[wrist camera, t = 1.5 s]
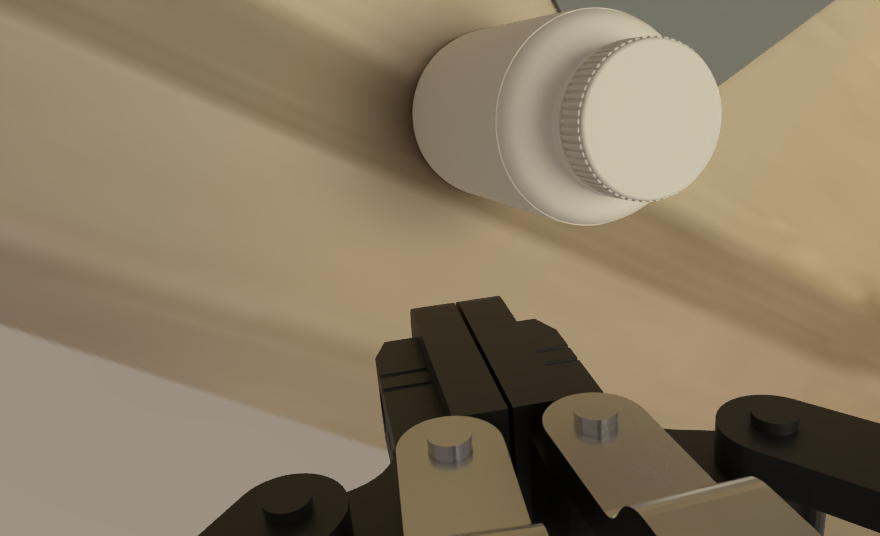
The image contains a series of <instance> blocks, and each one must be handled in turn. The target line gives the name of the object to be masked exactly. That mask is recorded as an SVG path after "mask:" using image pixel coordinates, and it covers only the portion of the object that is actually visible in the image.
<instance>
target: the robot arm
mask: <svg viewBox="0 0 880 536" xmlns="http://www.w3.org/2000/svg"><path fill="white" fill-rule="evenodd" d="M410 316H411V329H412V338H409V339H402V340H396V341H389V342H385V343H384V344H383V346H382V348H381V350H380V351H379V353H378V355H377V357H376V358H375V360H376V368H377V376H378V384H379V392H380V400H381V408H382V416H383V424H384V432H385V439H386V444H387V448H388V453H389V457H390V462H391V463H390V465H389V466H388V467H387V468H386V470H385V471H384V472H383V473H382V474H380V475H379V476H378V477H376V478H375V479H373V480H372V481H370V482H369V483H367V484H365V485H363V486H360V487H358V488H356V489H354V490H351V491H349V492H346V490H345V489H344V488H343V486H342V485H340V484H339V483H338V482H337V481H335V480H333V479H331V478H329V477H326V476H323V475H318V474H308V473H304V474H291V475H285V476H281V477H277V478H275V479H272V480H269V481H266V482H264V483H262V484H260V485H258V486H256V487H254V488H253V489H251V490H250V491H248V492H247V493H246V494H244V495H243V496H242V497H241V498H240V499H239V500H238V501H236V502H235V503H234V504H233V505H232V506H231V507H230V508H229V509H227V510H226V511H225V512H224V513H223V514H222V515H221V516H220V517H219V518H217V519H216V520H215V521H214V522H213V523H212V524H211V525H210V526H208V527H207V528H206V529H205V530H204V531H203V532H202V533H201V534H199V535H198V536H824V527H825V518H826V514H829V515H832V516H835V517H837V518H840V519H843V520H846V521H848V522H851V523H854V524H857V525H859V526H862V527H865V528H868V529H871V530H873V531H876V532H879V533H880V424H879V423H876V422H872V421H869V420H865V419H862V418H858V417H855V416H851V415H847V414H844V413H840V412H837V411H833V410H830V409H826V408H823V407H819V406H816V405H812V404H808V403H805V402H801V401H798V400H794V399H790V398H786V397H780V396H773V395H750V396H744V397H739V398H736V399H733V400H730V401H728V402H727V403H725V404H724V405H722V406H721V407H720V408H719V410H718V411H717V414H716V422H715V431H705V430H672V429H663V428H662V427H661V426H660V425H659V424H658V423H657V422H656V421H655V420H654V419H653V418H652V417H651V416H650V415H649V414H648V413H647V412H646V411H645V410H644V409H643V408H642V407H641V406H640V405H639V404H637V403H635V402H634V401H632V400H629V399H627V398H624V397H621V396H618V395H613V394H608V393H603V391H602V390H601V389H600V387H599V386H598V385H597V383H596V382H595V381H594V379H593V378H592V377H591V375H590V374H589V373H588V371H587V370H586V369H585V367H584V366H583V365H582V363H581V362H580V361H579V360H577V357H576V355H575V354H574V353H573V351H572V350H571V349H570V348H568V345H567V343H566V342H565V341H564V339H563V338H562V337H561V335H560V334H559V333H558V331H557V330H556V329H554V328H552V327H550V326H548V325H546V324H544V323H542V322H540V321H538V320H536V319H530V320H524V321H516V320H515V318H514V317H513V315H512V314H511V312H510V310H509V309H508V307H507V306H506V304H505V303H504V301H503V300H502V298H501V297H500V296H494V297H488V298H481V299H474V300H468V301H461V302H456V305H455V303H449V304H442V305H435V306H429V307H422V308H415V309H411V312H410Z"/></svg>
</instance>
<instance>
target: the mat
mask: <svg viewBox="0 0 880 536" xmlns="http://www.w3.org/2000/svg"><path fill="white" fill-rule="evenodd" d="M833 1H834V0H553V2H554V4H555V6H556V8H557V10H558V12H559V13H560V12H565V11H570V10H575V9H581V8H594V7H598V8H609V9H614V10H618V11H621V12H624V13H627V14H629V15H632V16H634V17H636V18H638V19H640V20H642V21H643V22H645V23H647V24H648V25H650V26H651V27H652V28H654V29H655V30H656V31H657V32H658V33H659V34H660V35H661V36H662V37H669V38H673V39H675V40H676V41H680V42H682V44H686V45H687V46H689V48H692V49H693V50H694V52H695V53H697V54H698V55H699V56H700V57H701V58H702V59H703V60H704V62H705V63H706V65H707V66H708V67H709V69H710V71H711V73H712V75H713V77H714V79H715V81H716V84H717V87H718V86H719V85H720V84H722V83H723V82H725V81H726V80H727V79H729V78H730V77H731V76H733V75H734V74H735V73H737V72H738V71H739V70H741V69H742V68H743V67H745V66H746V65H748V64H749V63H750V62H752V61H753V60H754V59H756V58H757V57H758V56H760V55H761V54H762V53H764V52H765V51H766V50H768V49H769V48H770V47H772V46H773V45H775V44H776V43H777V42H779V41H780V40H781V39H783V38H784V37H785V36H787V35H788V34H789V33H791V32H792V31H793V30H795V29H796V28H798V27H799V26H800V25H802V24H803V23H804V22H806V21H807V20H808V19H810V18H811V17H812V16H814V15H815V14H816V13H818V12H819V11H821V10H822V9H823V8H825V7H826V6H827V5H829V4H830V3H831V2H833Z"/></svg>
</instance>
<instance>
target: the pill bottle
mask: <svg viewBox="0 0 880 536" xmlns="http://www.w3.org/2000/svg"><path fill="white" fill-rule="evenodd" d="M412 117H413V127H414V133H415V137H416V140H417V143H418V146H419V148H420V150H421V152H422V154H423V156H424V158H425V160H426V161H427V162H428V164H429V165H430V167H431V168H432V169H433V170H434V171H435V172H436V173H437V174H438V175H439V176H440V177H441V178H442V179H444V180H445V181H446V182H448V183H449V184H451V185H452V186H454V187H456V188H458V189H460V190H462V191H464V192H467V193H470V194H473V195H476V196H480V197H483V198H486V199H489V200H492V201H495V202H499V203H502V204H505V205H508V206H511V207H514V208H518V209H521V210H524V211H527V212H530V213H533V214H537V215H540V216H543V217H546V218H549V219H552V220H556V221H559V222H563V223H568V224H574V225H598V224H604V223H608V222H611V221H615V220H618V219H621V218H623V217H626V216H628V215H630V214H632V213H634V212H636V211H637V210H639V209H641V208H642V207H644V206H645V205H646V204H648V203H649V202H653V201H660V199H666V198H667V197H671V196H673V195H674V194H677V193H679V192H680V191H681V190H683V189H685V188H686V187H687V186H688V185H690V184H691V183H692V182H693V181H694V180H695V179H696V178H697V177H698V176H699V174H700V173H701V172H702V171H703V169H704V168H705V167H706V165H707V163H708V162H709V160H710V158H711V156H712V154H713V152H714V150H715V147H716V144H717V141H718V138H719V133H720V128H721V117H722V111H721V100H720V94H719V90H718V87H717V84H716V81H715V79H714V77H713V75H712V73H711V71H710V69H709V67H708V66H707V65H706V63H705V62H704V60H703V59H702V58H701V57H700V56H699V55H698V54H697V53H695V52H694V50H693V49H692V48H689V46H687V45H686V44H682V42H680V41H676V40H675V39H673V38H669V37H662V36H661V35H660V34H659V33H658V32H657V31H656V30H655V29H654V28H652V27H651V26H650V25H648V24H647V23H645V22H643V21H642V20H640V19H638V18H636V17H634V16H632V15H629V14H627V13H624V12H621V11H618V10H614V9H609V8H598V7H594V8H581V9H575V10H570V11H565V12H560V13H556V14H551V15H546V16H542V17H537V18H533V19H528V20H523V21H519V22H514V23H510V24H505V25H500V26H496V27H491V28H486V29H482V30H477V31H473V32H470V33H467V34H465V35H463V36H461V37H459V38H457V39H455V40H453V41H452V42H450V43H449V44H447V45H446V46H445V47H443V48H442V49H441V50H440V51H439V52H438V53H437V54H436V55H435V56H434V57H433V58H432V59H431V61H430V62H429V63H428V65H427V66H426V68H425V69H424V71H423V73H422V75H421V77H420V79H419V82H418V85H417V88H416V91H415V95H414V100H413V111H412Z"/></svg>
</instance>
